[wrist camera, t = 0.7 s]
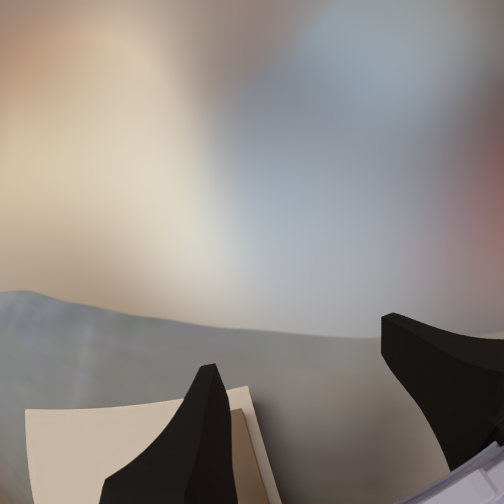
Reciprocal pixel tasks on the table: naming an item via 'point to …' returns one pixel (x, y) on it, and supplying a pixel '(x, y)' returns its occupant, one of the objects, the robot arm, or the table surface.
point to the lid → (130, 448)
